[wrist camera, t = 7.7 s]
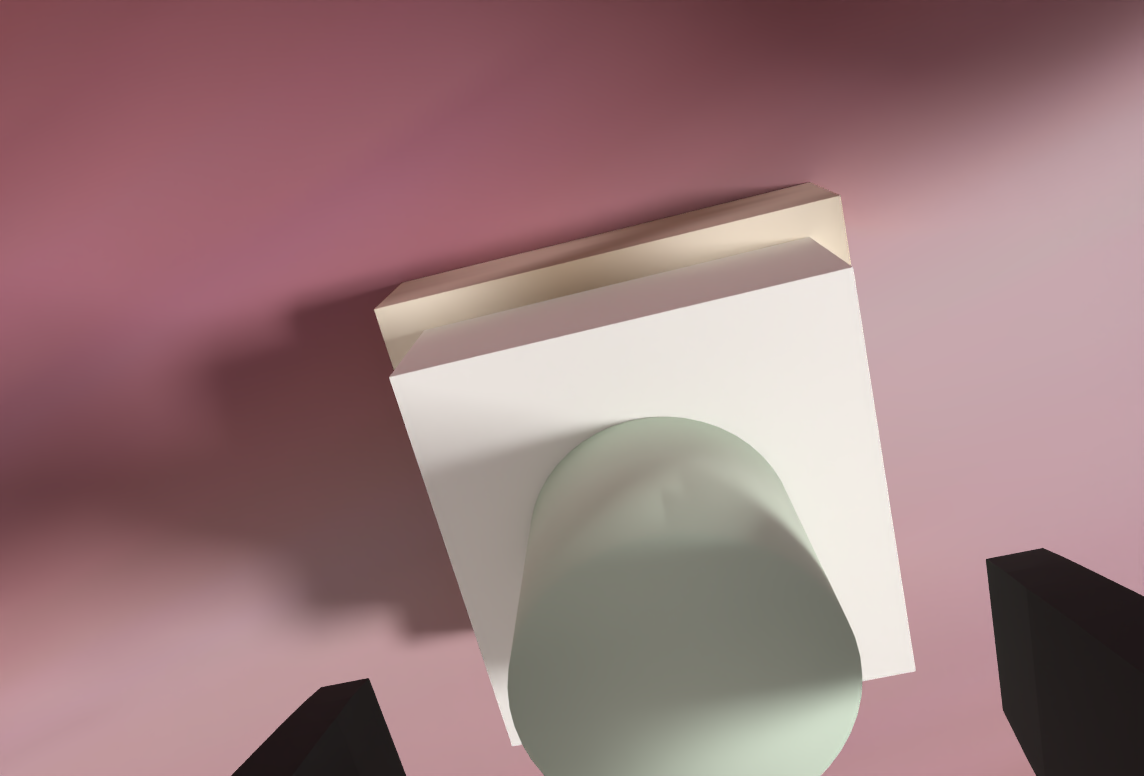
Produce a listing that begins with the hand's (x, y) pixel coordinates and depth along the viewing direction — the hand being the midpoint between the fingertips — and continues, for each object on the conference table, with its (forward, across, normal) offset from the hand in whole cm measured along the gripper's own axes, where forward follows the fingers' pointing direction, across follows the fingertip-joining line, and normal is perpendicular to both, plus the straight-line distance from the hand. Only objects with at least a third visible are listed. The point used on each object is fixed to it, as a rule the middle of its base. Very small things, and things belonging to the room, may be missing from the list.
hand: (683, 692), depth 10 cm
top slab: (+8, 0, +1) cm, 8 cm away
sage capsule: (+5, 0, +1) cm, 5 cm away
